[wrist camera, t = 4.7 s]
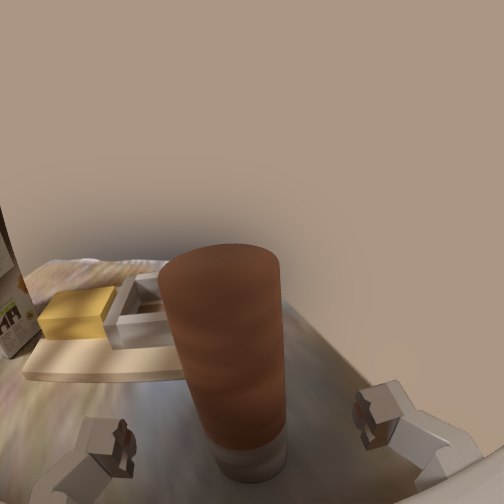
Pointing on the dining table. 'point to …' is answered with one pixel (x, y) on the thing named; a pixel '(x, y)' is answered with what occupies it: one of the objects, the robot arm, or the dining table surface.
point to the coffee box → (13, 301)
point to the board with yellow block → (106, 336)
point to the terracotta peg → (232, 352)
